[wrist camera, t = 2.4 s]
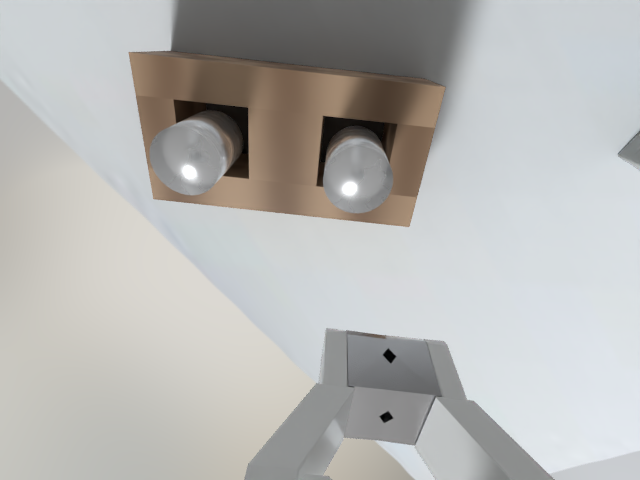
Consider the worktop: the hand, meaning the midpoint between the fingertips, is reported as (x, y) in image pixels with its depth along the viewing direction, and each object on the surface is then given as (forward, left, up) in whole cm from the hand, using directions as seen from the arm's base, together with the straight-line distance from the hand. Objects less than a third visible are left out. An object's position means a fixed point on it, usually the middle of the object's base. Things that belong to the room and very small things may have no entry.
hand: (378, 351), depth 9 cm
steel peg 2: (0, 0, -18) cm, 18 cm away
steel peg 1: (-8, -6, -18) cm, 21 cm away
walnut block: (-4, -3, -23) cm, 24 cm away
